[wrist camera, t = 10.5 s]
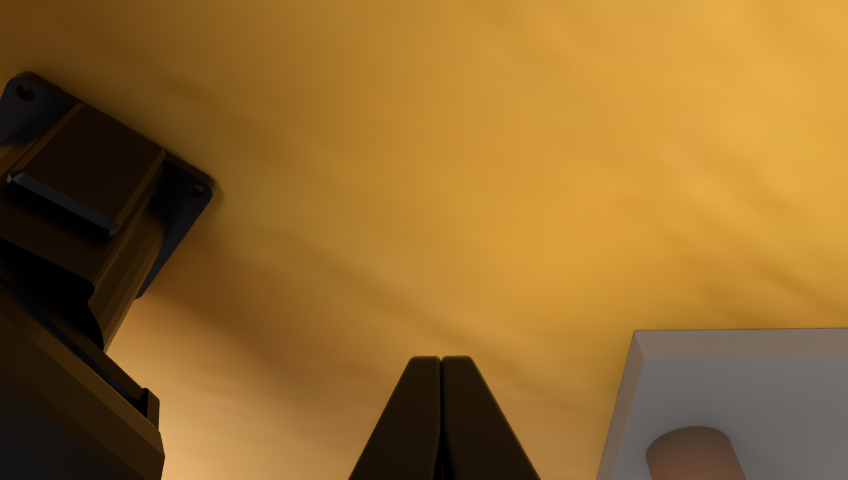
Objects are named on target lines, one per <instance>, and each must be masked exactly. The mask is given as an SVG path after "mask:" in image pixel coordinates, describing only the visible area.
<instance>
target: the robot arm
mask: <svg viewBox="0 0 848 480" xmlns="http://www.w3.org/2000/svg"><path fill="white" fill-rule="evenodd" d="M23 85H25V86H28V87H29V88H30V89H31V90H32V91H33V93H34V95H31V94H29V93H27V92H26V91H25V90H24V88H23ZM193 185H198V186H201V187H202V188H203V189H204V191H198V190H196V189H195V188H194V187H193ZM215 189H216V188H215V183H214V181H213V180H212V178H210V177H209V176H208V175H206V174H205V173H203V172H201V171H200V170H198V169H196V168H195V167H193V166H191V165H189V164H188V163H186V162H184V161H183V160H181V159H179V158H178V157H176V156H174V155H172V154H171V153H169V152H167V151H166V150H164V149H162V148H161V147H160V146H159V145H157V144H155V143H154V142H152V141H150V140H149V139H147V138H145V137H143V136H142V135H140V134H138V133H137V132H135V131H133V130H132V129H130V128H128V127H126V126H125V125H123V124H121V123H120V122H118V121H116V120H115V119H113V118H111V117H109V116H108V115H106V114H104V113H103V112H101V111H99V110H98V109H96V108H94V107H92V106H91V105H89V104H86V103H84V102H82V101H81V100H79V99H77V98H76V97H74V96H72V95H71V94H69V93H67V92H65V91H64V90H62V89H60V88H59V87H57V86H55V85H54V84H52V83H50V82H48V81H47V80H45V79H43V78H42V77H40V76H38V75H36V74H34V73H31V72H25V71H23V72H20V73H18V74H16V75H15V76H14V77H12V78H11V79H10V80H9V82H8V83H7V85H6V87H5V90H4V92H3V94H2V97H1V99H0V480H161V477H162V471H163V466H164V460H165V454H164V449H163V444H162V439H161V434H160V432H159V431H158V429H159V406H160V401H159V399H158V398H157V397H156V396H155V395H154V394H153V393H152V392H151V391H150V390H149V389H147V388H141V387H140V386H139V385H138V384H137V383H136V382H135V381H134V380H133V379H132V378H131V377H130V376H129V375H128V374H127V373H125V372H124V371H123V370H122V369H121V368H120V367H119V366H118V365H117V364H116V363H115V362H114V361H113V360H112V359H111V358H110V357H108V356H107V355H106V354H105V353H106V352H107V350H108V348H109V346H110V344H111V342H112V340H113V338H114V337H115V335H116V333H117V331H118V329H119V327H120V325H121V324H122V322H123V320H124V318H125V316H126V314H127V312H128V310H129V309H130V307H131V305H132V303H133V301H134V299H138V298H140V297H141V296H142V295H143V293H144V292H145V291H146V289H147V288H148V287H149V285H150V284H151V282H152V281H153V280H154V278H155V277H156V275H157V274H158V273H159V271H160V270H161V268H162V267H163V266H164V264H165V263H166V261H167V260H168V259H169V257H170V256H171V254H172V253H173V252H174V250H175V249H176V247H177V246H178V245H179V243H180V242H181V240H182V239H183V238H184V236H185V235H186V233H187V232H188V231H189V229H190V228H191V226H192V225H193V224H194V222H195V221H196V219H197V218H198V217H199V215H200V214H201V212H202V211H203V210H204V208H205V207H206V206H207V204H208V203H209V201H210V200H211V198H212V196H213V194H214V191H215ZM348 480H541V479H540V477H539V476H538V474H537V472H536V470H535V468H534V467H533V465H532V463H531V461H530V460H529V458H528V456H527V454H526V453H525V451H524V449H523V447H522V445H521V444H520V442H519V440H518V438H517V437H516V435H515V433H514V431H513V429H512V428H511V426H510V424H509V422H508V421H507V419H506V417H505V415H504V414H503V412H502V410H501V408H500V406H499V405H498V403H497V401H496V399H495V398H494V396H493V394H492V392H491V390H490V389H489V387H488V385H487V383H486V382H485V380H484V378H483V376H482V375H481V373H480V371H479V369H478V367H477V366H476V364H475V362H474V361H473V359H472V358H471V357H469V356H445V357H443V358H442V360H440V358H439V357H437V356H414V357H412V358H411V359H410V360H409V362H408V364H407V366H406V368H405V369H404V371H403V373H402V375H401V377H400V379H399V381H398V383H397V385H396V387H395V389H394V391H393V393H392V395H391V397H390V399H389V401H388V403H387V405H386V407H385V409H384V410H383V412H382V414H381V416H380V418H379V420H378V422H377V424H376V426H375V428H374V430H373V432H372V434H371V436H370V438H369V440H368V442H367V444H366V446H365V448H364V450H363V452H362V453H361V455H360V457H359V459H358V461H357V463H356V465H355V467H354V469H353V471H352V473H351V475H350V477H349V479H348Z"/></svg>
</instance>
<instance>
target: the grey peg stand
mask: <svg viewBox="0 0 848 480" xmlns="http://www.w3.org/2000/svg"><path fill="white" fill-rule="evenodd" d="M597 480H848V328H828V329H750V330H673V331H634V334H633V338H632V342H631V346H630V350H629V354H628V358H627V362H626V366H625V370H624V374H623V378H622V382H621V386H620V390H619V394H618V397H617V401H616V405H615V409H614V413H613V417H612V421H611V425H610V429H609V433H608V437H607V441H606V445H605V449H604V453H603V457H602V461H601V465H600V468H599V472H598V476H597Z"/></svg>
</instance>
